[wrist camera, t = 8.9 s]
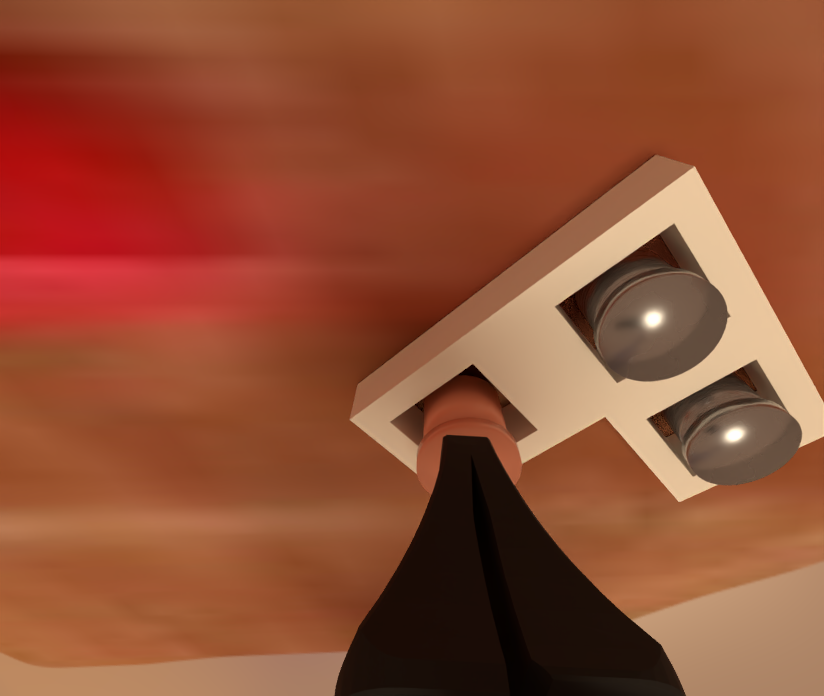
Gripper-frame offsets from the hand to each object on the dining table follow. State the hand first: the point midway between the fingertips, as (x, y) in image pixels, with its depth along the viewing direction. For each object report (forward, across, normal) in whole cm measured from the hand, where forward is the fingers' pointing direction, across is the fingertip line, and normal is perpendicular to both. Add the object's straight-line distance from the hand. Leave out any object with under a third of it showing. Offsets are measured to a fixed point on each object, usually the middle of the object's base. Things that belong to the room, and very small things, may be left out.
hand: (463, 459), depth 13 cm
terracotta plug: (+8, -1, +5) cm, 10 cm away
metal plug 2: (+9, -13, +3) cm, 17 cm away
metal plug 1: (+9, -8, -2) cm, 12 cm away
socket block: (+10, -7, +4) cm, 13 cm away
